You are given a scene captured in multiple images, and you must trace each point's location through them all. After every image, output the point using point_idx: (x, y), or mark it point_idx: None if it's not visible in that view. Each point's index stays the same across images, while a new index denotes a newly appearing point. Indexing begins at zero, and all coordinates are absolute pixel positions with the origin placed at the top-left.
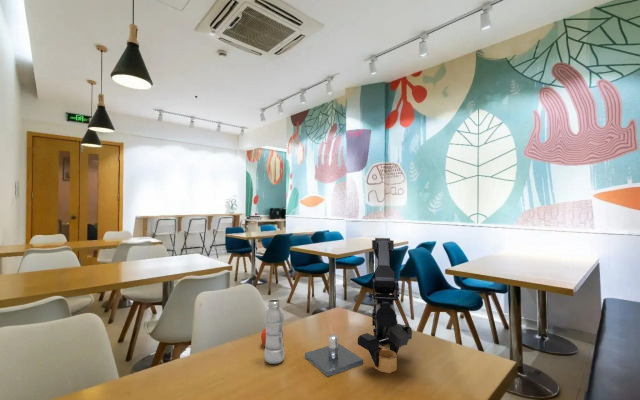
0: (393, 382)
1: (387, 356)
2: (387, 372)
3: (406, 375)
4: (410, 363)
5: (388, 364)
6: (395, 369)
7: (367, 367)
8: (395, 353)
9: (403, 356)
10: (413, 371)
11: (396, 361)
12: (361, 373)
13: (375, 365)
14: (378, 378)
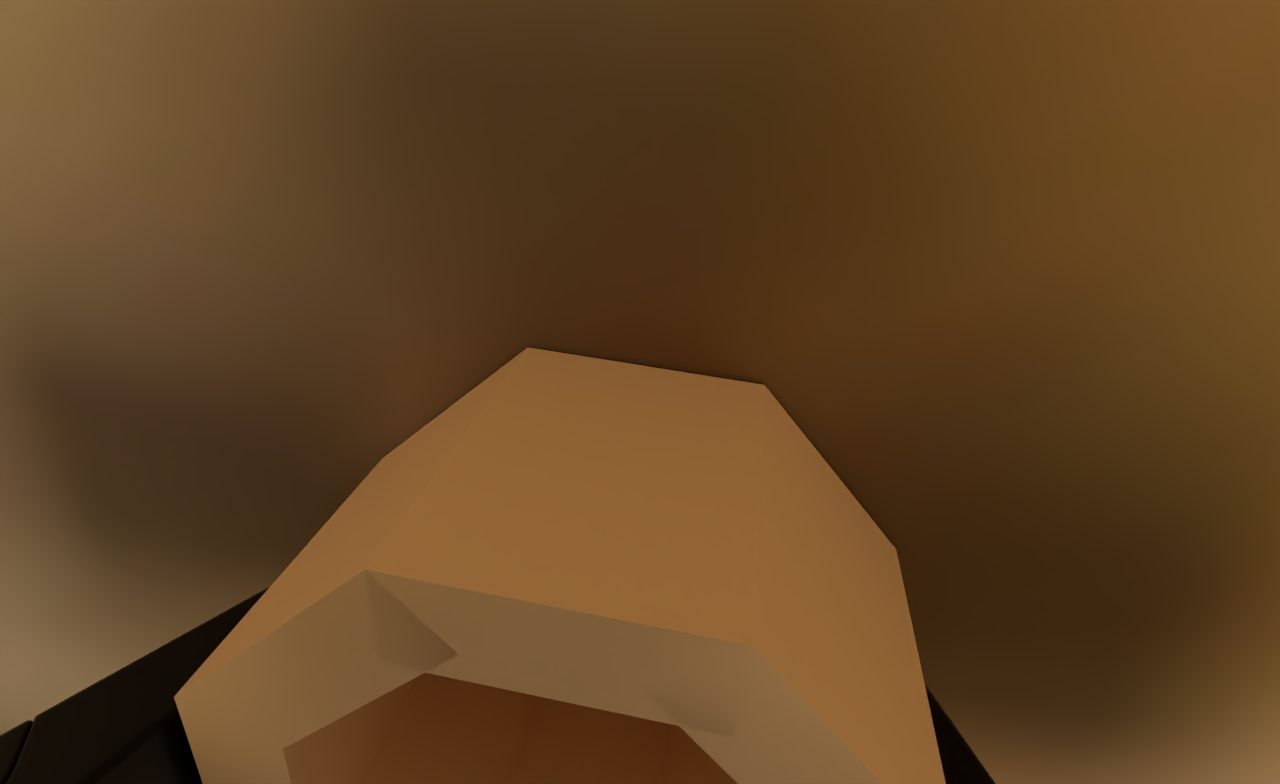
0: (1170, 21)
1: (412, 731)
2: (799, 434)
3: (499, 9)
4: (32, 300)
5: (786, 550)
6: (559, 367)
7: None
8: (220, 698)
9: (28, 532)
10: (175, 12)
11: (441, 472)
12: (1258, 759)
13: None
14: (1232, 437)
